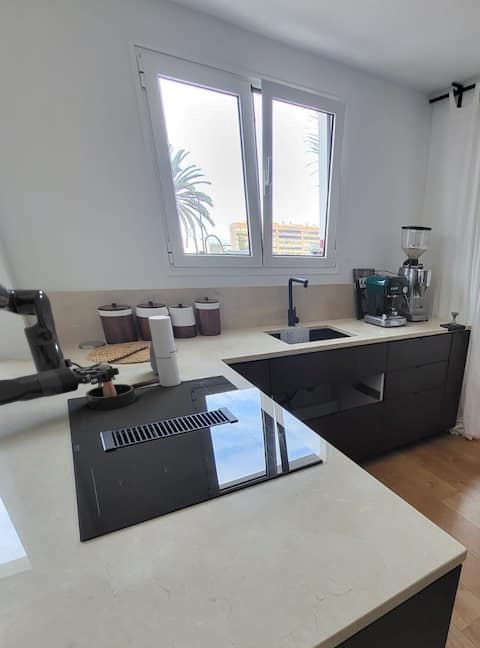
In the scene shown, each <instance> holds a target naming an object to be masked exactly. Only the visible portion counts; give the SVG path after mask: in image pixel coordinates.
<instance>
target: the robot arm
mask: <svg viewBox="0 0 480 648" xmlns="http://www.w3.org/2000/svg"><path fill="white" fill-rule="evenodd" d="M0 311H4V312H7V313H11V314H14V315H17V316H20V317H21V316H22V317H36V322H34V323H33V324H30V325H27V326H25V327H24V328H23V332H24V335H25V339H26V342H27V344H28V345H27V346H28V348H29V351H30V354H31V357H32V361H33V364H34V367H35V370H36V372H35V373H33V374H29V375H23V376H18V377H14V378H8V379H6V378H5V379H0V407H1V406H6V405H9V404H13V403H17V402H19V403H21V402H24V403H25V402H28V401H34V400H39V399H43V398H50V397H55V396H59V395H63V394H68V393H72V392H76V391H78V389H79V385H81V384H82V385H88V384H90V385H93V386H94V385H98V383H100V382H103V381H105V380H108V377H109V376H114V377H115V376H118V375H119V374H120V372H119V368H117V367H113V366H112V365H110V367H109V368H110V369H108V370H102V371H101V370H99V364H101V363H102V362H103V361H102V362H99V363H95V364H93V365H90V366H81V365H80V364H78V363H77V362H73V361H72V360H71V358H65V357H64V353H63V351H62V348H61V344H60V341H59V337H58V334H57V330H56V321H55V318H54V313H53V307H52V304H51V300H50V298H49V295H48V294H47V293H46V292H45V291H44V290H43V289H38V288H37V289H36V288H35V289H33V288H31V289H30V288H29V289H28V288H27V289H23V288H20V289H19V288H17V289H10V288H9V289H7V287H6V286H5V285H3V284H2V283H0ZM146 346H147V347H146ZM146 346H143V347H144V348H143V347H140V348H141V349H140V348H138V349H139V350H137V349H135V350H136V351H135V350H133V351H134V352H133V351H131V352H132V353H131V352H129V353H130V354H128V353H126V354H127V355H126V354H124V355H125V356H124V355H122V356H123V357H121V356H119V357H120V358H119V357H116V358H117V359H116V358H113V359H114V360H112V359H110V360H111V361H109V360H106V361H107V362H106V363H109V364H110V363H113V362H117V361H120V360H122V359H124V358H126V357H129V356H131V355H133V354H135V353H137V352H140V351H142V350H145V349H149V346H148V345H146ZM73 366H76V367H77V368H76V367H75V368H72V367H73ZM71 368H72V369H71ZM102 375H103V376H102ZM101 376H102V377H101Z"/></svg>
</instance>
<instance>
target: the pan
mask: <svg viewBox="0 0 480 648" xmlns="http://www.w3.org/2000/svg"><path fill="white" fill-rule="evenodd" d="M113 385H114V388H115V391H116V394H117V395H116V396H111V397H104V395H103V385H101V386H102V387H101V388H99V387H98V386H96V387H94V388H91V389H89V390H88V391H86V392H85V398H86V400H87V404H88V406H89V408H90V409H93V410H112V409H117V408H122V407H125V406H128V405H130V404H133V403H134V402H135V401H136V393H135V389H134V388H133V386H130V385H131V384H126V383H113ZM129 386H130V389H129Z"/></svg>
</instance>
